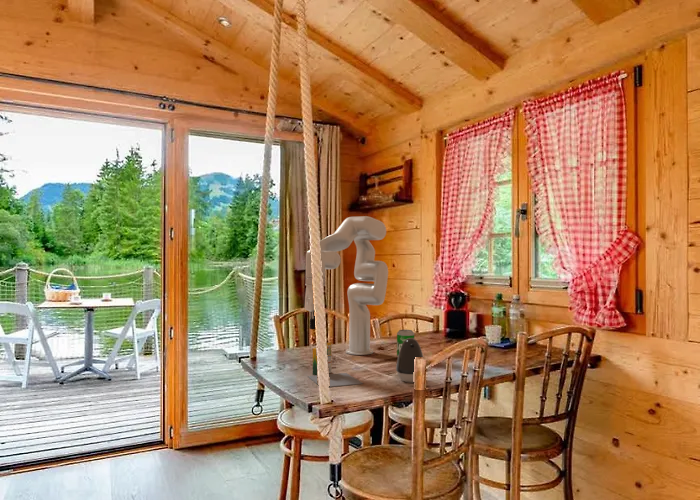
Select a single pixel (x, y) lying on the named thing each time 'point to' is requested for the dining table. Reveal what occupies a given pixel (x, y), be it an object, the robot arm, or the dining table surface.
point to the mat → (339, 380)
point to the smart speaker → (408, 359)
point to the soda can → (403, 338)
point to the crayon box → (316, 359)
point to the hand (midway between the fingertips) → (314, 328)
